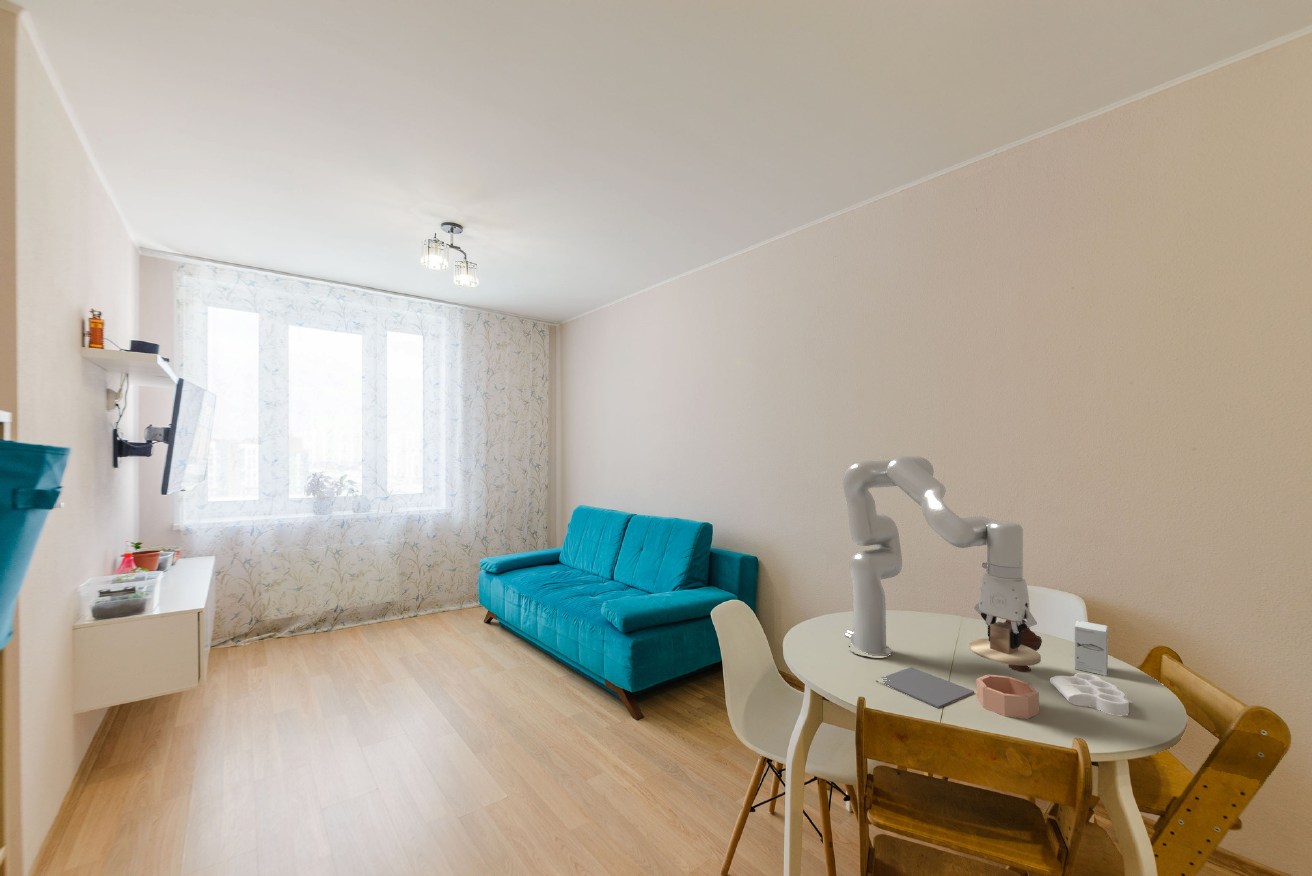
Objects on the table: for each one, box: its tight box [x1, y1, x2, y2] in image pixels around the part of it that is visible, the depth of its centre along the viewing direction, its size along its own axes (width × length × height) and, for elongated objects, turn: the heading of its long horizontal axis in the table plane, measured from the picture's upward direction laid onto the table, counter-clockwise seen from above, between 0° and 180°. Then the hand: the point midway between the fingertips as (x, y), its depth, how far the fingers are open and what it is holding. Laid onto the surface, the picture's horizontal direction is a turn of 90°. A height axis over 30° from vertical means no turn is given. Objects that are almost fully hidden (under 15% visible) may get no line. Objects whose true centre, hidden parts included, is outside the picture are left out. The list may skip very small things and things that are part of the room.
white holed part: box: [1049, 672, 1133, 716], centre depth 138 cm, size 3×18×15 cm
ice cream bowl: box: [1003, 619, 1043, 673], centre depth 157 cm, size 11×11×15 cm
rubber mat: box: [880, 666, 975, 709], centre depth 145 cm, size 18×16×1 cm
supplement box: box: [1073, 620, 1109, 677], centre depth 156 cm, size 7×7×13 cm
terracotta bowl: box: [976, 674, 1040, 719], centre depth 135 cm, size 12×12×5 cm
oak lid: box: [968, 621, 1042, 667], centre depth 135 cm, size 15×15×7 cm
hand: (1004, 643), depth 135 cm, fingers closed on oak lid, 4 cm apart
